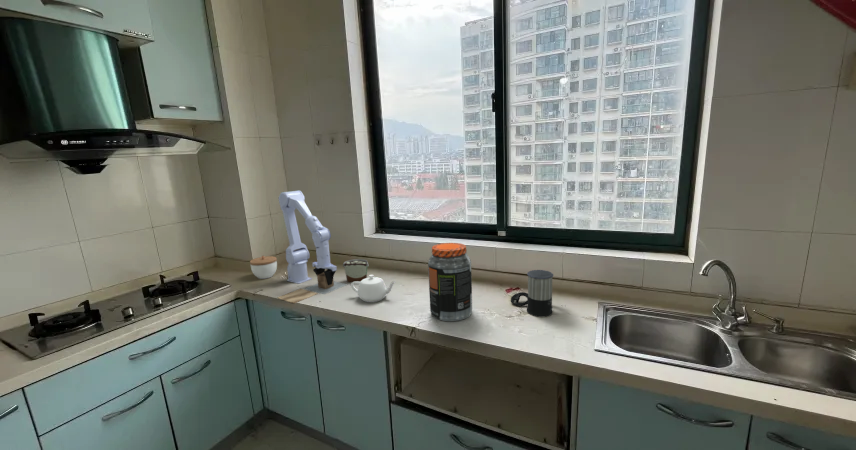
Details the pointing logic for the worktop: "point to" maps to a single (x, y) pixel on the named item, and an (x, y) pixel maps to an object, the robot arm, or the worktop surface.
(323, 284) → the walnut block
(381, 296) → the teapot
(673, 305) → the worktop surface
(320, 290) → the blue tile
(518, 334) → the worktop surface
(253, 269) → the lidded bowl
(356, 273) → the food container
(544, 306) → the milk frother
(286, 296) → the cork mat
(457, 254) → the supplement tub
